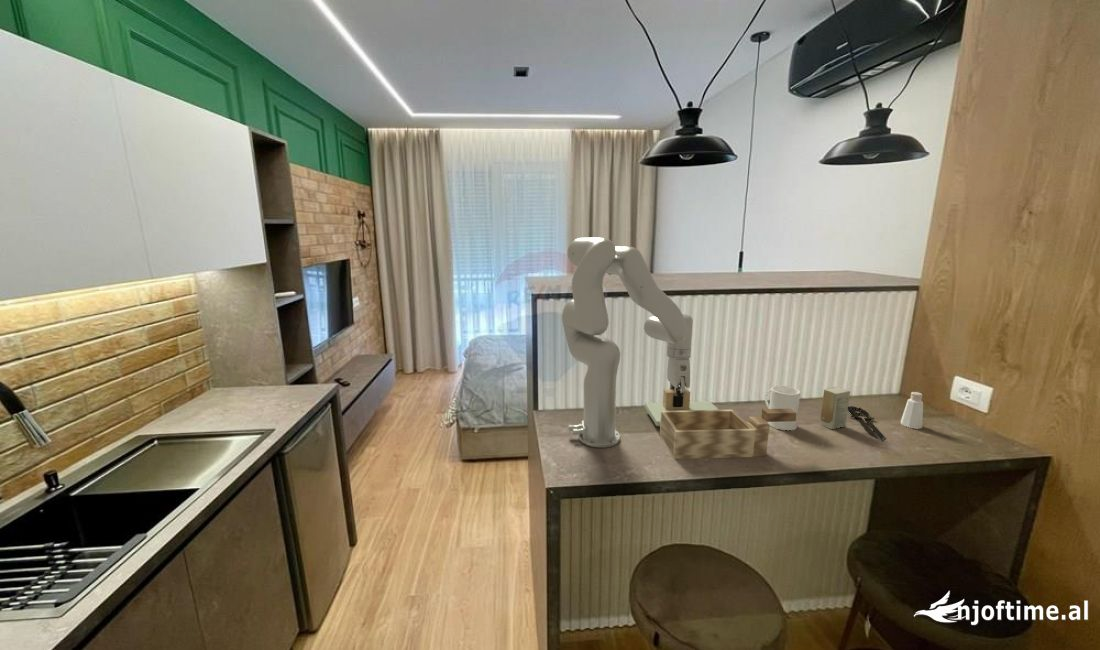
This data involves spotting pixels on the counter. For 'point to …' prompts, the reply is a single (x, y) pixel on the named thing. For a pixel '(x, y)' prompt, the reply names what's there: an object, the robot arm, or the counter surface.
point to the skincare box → (834, 407)
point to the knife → (866, 421)
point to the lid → (667, 405)
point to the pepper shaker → (913, 412)
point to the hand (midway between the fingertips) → (675, 404)
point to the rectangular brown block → (778, 415)
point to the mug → (783, 404)
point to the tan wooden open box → (713, 434)
